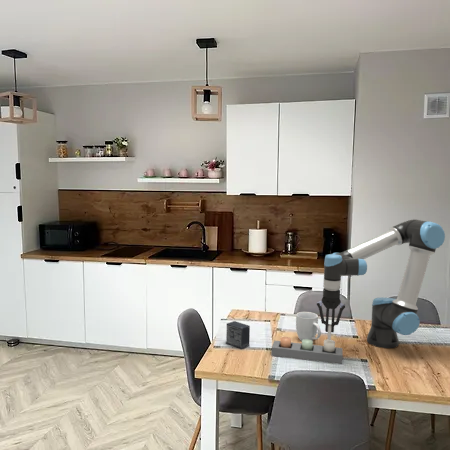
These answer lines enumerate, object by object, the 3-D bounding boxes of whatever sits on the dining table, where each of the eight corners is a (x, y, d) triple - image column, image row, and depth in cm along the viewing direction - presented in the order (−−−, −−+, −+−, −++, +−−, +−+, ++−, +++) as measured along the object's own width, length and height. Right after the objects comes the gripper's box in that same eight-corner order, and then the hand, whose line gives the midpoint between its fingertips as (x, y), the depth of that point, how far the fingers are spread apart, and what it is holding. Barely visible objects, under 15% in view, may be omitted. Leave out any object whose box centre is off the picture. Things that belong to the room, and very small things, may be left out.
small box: (250, 345, 214) (250, 325, 213) (241, 349, 209) (242, 328, 208) (234, 340, 221) (234, 320, 220) (225, 343, 216) (225, 323, 215)
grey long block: (342, 356, 203) (342, 348, 202) (342, 364, 194) (342, 355, 194) (274, 348, 211) (274, 340, 210) (271, 355, 202) (271, 347, 202)
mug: (327, 343, 218) (328, 318, 217) (311, 348, 212) (312, 322, 211) (306, 334, 230) (307, 310, 229) (290, 338, 224) (291, 313, 223)
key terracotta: (291, 345, 206) (291, 337, 206) (290, 349, 202) (290, 341, 201) (280, 344, 208) (281, 336, 207) (279, 348, 203) (279, 340, 202)
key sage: (312, 348, 204) (313, 339, 203) (312, 352, 199) (312, 343, 199) (302, 346, 205) (302, 338, 205) (301, 350, 200) (301, 342, 200)
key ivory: (334, 348, 201) (335, 340, 201) (334, 352, 196) (334, 344, 196) (323, 347, 203) (324, 338, 202) (323, 351, 198) (323, 342, 197)
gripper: (346, 287, 198) (343, 337, 201) (317, 285, 201) (315, 334, 204) (346, 292, 191) (343, 343, 194) (316, 289, 194) (314, 340, 197)
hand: (329, 338), depth 199 cm, fingers closed
